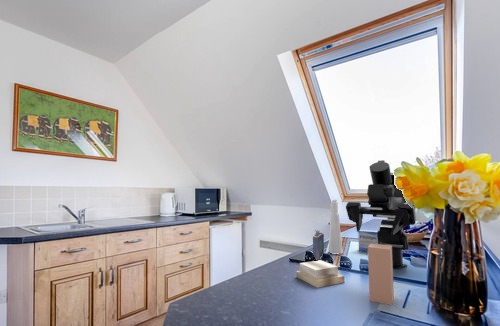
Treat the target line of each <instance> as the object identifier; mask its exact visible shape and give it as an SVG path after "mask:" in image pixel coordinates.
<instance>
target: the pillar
mask: <svg viewBox="0 0 500 326" xmlns="http://www.w3.org/2000/svg"><path fill="white" fill-rule="evenodd" d="M367 261H368V262H367V264H368V289H369V293H368V294H369V302H374V303H379V304H385V305H389V304H391V306H393V304H392V303H394V300H395V291H394V288H395V287H394V268H393V262H392V245H382V244H370V245H369V246H368V252H367ZM393 299H394V300H393Z"/></svg>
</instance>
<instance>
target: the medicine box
mask: <svg viewBox="0 0 500 326" xmlns="http://www.w3.org/2000/svg"><path fill="white" fill-rule="evenodd" d="M377 232H378V230H369V229H368V230H367V229H365V230H364V229H360V231H359V232H357V233H358V235H357V236H358V251H359V252H360V251H362V252H361V253H368V246H369V245H370V244H378V238H377Z"/></svg>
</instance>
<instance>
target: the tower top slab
mask: <svg viewBox="0 0 500 326" xmlns="http://www.w3.org/2000/svg"><path fill="white" fill-rule="evenodd" d="M299 271H300V272H302V273H304V274H307V275H309V276H311V277H313V278H315V279H320V278H325V277H331V276H336V275H338V274H339V266H337V265H335V264H333V263H329V262H327V261H324V260H322V259H320V260H318V261H314V260H312V261H306V262H299Z"/></svg>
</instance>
